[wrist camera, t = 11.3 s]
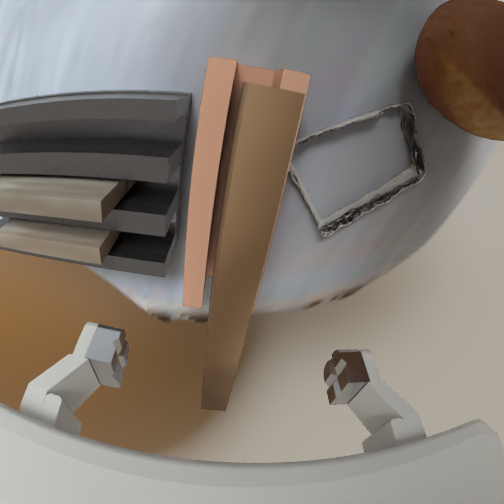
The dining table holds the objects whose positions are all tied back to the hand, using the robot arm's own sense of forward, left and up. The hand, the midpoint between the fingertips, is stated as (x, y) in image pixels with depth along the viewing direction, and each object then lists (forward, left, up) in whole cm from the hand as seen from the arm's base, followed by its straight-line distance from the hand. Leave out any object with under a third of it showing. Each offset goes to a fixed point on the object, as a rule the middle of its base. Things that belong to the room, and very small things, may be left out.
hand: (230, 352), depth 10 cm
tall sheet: (0, 0, -18) cm, 18 cm away
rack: (0, -16, -19) cm, 25 cm away
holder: (0, 0, -19) cm, 19 cm away
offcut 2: (+5, -16, -18) cm, 24 cm away
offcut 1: (0, -16, -18) cm, 24 cm away
